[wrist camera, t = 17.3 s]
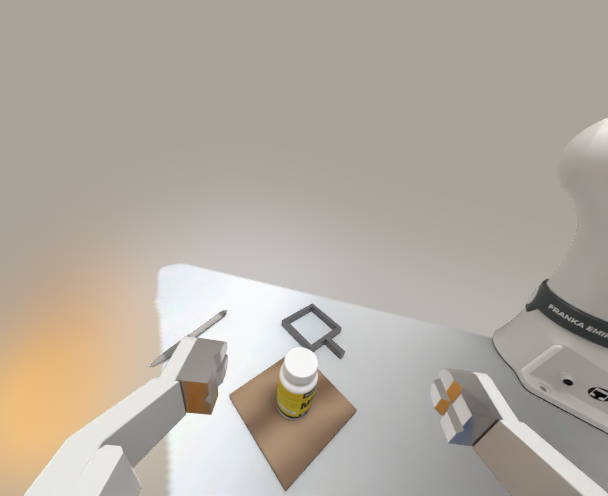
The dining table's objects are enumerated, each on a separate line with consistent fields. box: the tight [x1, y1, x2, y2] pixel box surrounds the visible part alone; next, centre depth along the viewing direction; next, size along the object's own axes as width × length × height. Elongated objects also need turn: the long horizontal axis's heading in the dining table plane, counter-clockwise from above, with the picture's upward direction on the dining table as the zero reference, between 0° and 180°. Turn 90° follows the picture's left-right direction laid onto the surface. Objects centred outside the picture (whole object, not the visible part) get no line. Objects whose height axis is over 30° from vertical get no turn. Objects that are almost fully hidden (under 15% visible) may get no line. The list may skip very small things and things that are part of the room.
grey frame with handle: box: [282, 303, 345, 359], centre depth 43 cm, size 11×8×1 cm
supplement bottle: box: [276, 347, 318, 420], centre depth 30 cm, size 5×5×8 cm
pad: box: [230, 357, 356, 491], centre depth 32 cm, size 12×12×1 cm
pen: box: [150, 310, 227, 367], centre depth 39 cm, size 1×14×1 cm, turn 148°
